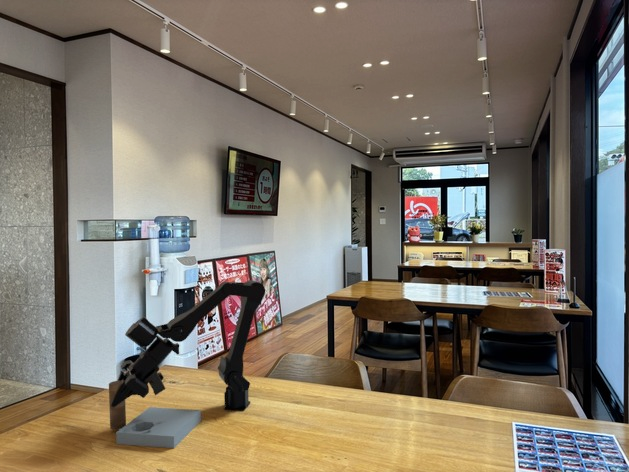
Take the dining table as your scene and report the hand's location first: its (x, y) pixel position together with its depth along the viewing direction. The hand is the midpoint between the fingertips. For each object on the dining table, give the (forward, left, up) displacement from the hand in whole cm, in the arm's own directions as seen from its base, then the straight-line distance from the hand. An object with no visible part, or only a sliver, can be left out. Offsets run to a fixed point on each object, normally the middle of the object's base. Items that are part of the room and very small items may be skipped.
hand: (111, 403), depth 120 cm
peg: (-1, -1, -7) cm, 7 cm away
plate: (-13, -2, -8) cm, 16 cm away
